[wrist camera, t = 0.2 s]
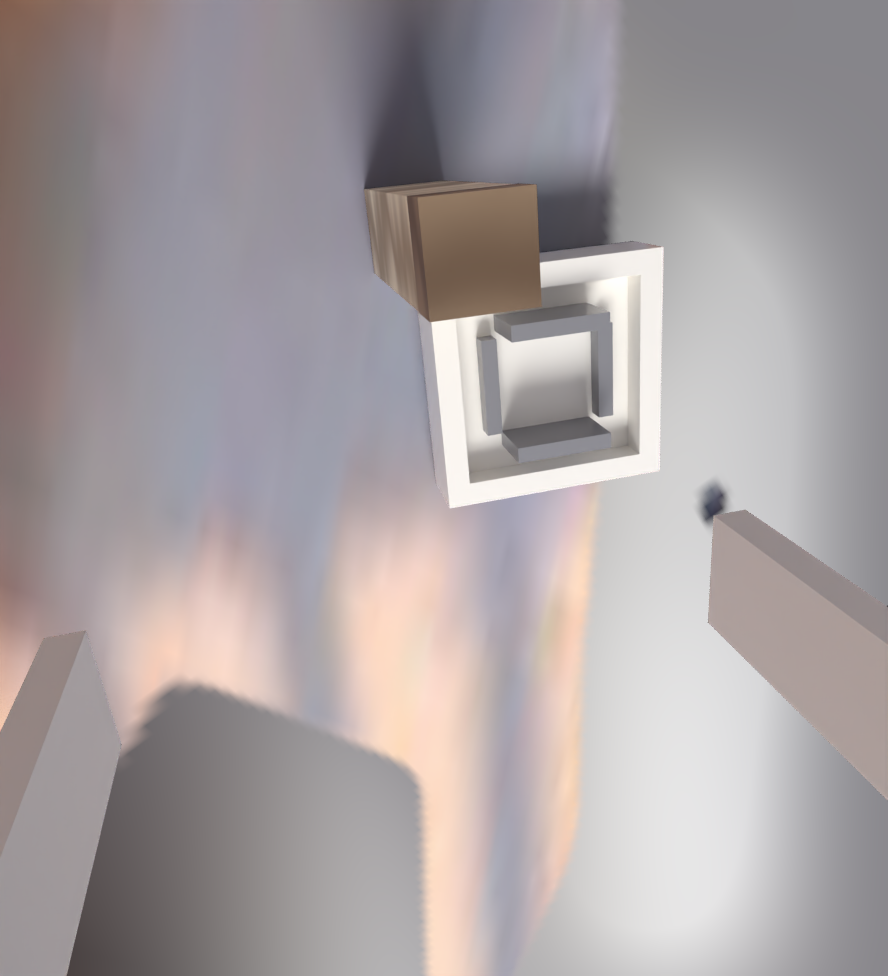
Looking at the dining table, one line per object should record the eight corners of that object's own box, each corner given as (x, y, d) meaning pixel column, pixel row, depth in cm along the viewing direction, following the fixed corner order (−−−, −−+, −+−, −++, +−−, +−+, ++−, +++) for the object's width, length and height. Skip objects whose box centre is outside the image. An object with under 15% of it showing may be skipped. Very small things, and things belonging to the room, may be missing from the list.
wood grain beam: (363, 188, 38) (417, 197, 25) (444, 180, 38) (536, 184, 26) (374, 273, 39) (430, 322, 27) (451, 264, 40) (541, 306, 27)
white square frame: (413, 268, 40) (433, 281, 35) (632, 241, 42) (678, 249, 37) (436, 484, 44) (456, 519, 40) (631, 450, 46) (672, 480, 42)
